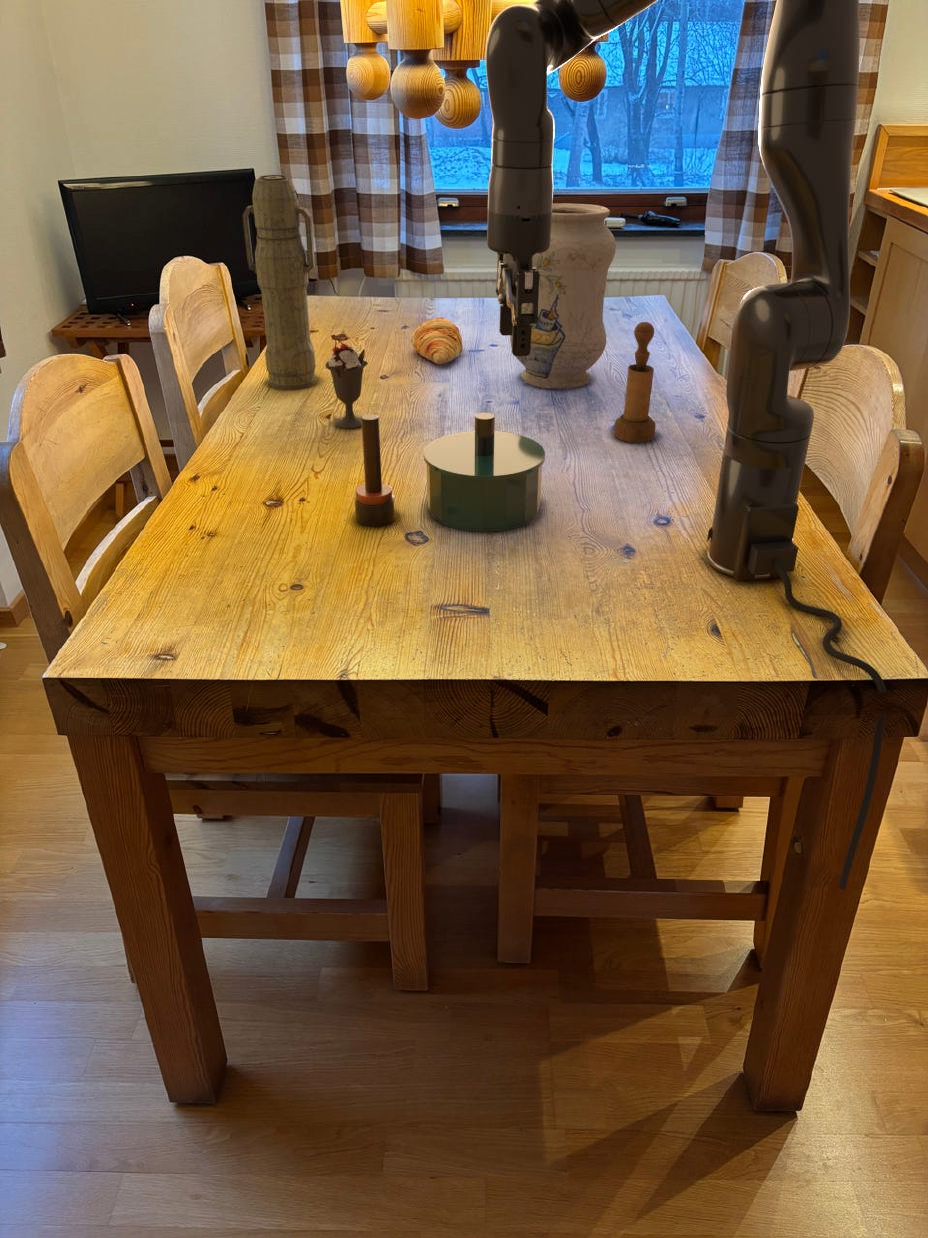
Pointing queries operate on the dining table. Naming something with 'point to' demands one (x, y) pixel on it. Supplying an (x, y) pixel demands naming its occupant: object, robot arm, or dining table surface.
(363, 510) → the brush
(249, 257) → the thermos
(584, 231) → the vase
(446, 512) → the pot
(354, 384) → the sundae
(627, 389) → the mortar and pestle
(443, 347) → the croissant
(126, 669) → the dining table surface
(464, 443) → the lid
